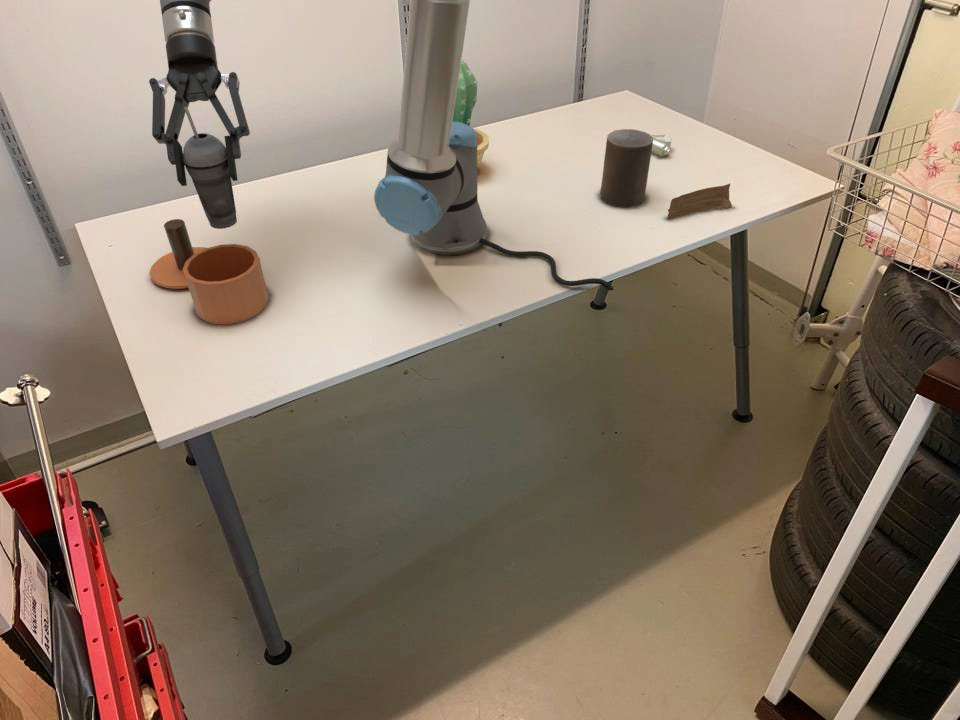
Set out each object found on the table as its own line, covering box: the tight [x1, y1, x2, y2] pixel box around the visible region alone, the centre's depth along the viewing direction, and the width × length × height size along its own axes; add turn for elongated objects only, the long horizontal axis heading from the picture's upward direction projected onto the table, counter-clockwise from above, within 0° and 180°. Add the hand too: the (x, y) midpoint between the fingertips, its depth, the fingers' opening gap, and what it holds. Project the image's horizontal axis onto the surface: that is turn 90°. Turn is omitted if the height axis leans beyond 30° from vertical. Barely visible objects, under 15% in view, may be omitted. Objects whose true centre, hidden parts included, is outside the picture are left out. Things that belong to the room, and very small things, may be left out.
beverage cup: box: [182, 107, 238, 230], centre depth 118 cm, size 7×7×20 cm
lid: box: [149, 218, 207, 290], centre depth 135 cm, size 14×14×10 cm
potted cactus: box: [453, 59, 490, 167], centre depth 161 cm, size 15×15×25 cm
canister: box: [183, 243, 269, 325], centre depth 127 cm, size 13×13×8 cm
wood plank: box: [666, 183, 732, 220], centre depth 152 cm, size 15×2×5 cm, turn 113°
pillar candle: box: [599, 128, 653, 208], centre depth 155 cm, size 10×10×15 cm
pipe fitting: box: [650, 134, 672, 158], centre depth 176 cm, size 8×4×7 cm
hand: (208, 180), depth 116 cm, fingers closed on beverage cup, 7 cm apart
